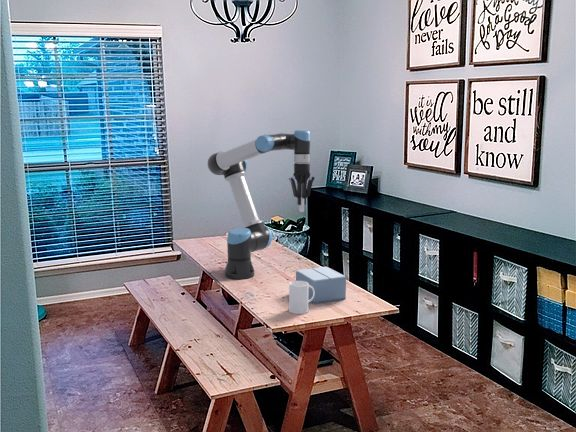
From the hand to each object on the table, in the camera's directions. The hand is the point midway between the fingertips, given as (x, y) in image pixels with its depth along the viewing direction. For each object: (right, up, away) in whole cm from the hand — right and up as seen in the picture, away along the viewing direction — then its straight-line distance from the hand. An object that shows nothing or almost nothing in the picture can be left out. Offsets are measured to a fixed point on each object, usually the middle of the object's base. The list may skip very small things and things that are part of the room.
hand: (301, 211), depth 293 cm
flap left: (+4, -29, -22) cm, 36 cm away
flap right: (+12, -28, -18) cm, 36 cm away
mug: (-1, -42, -37) cm, 56 cm away
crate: (+8, -39, -18) cm, 43 cm away
